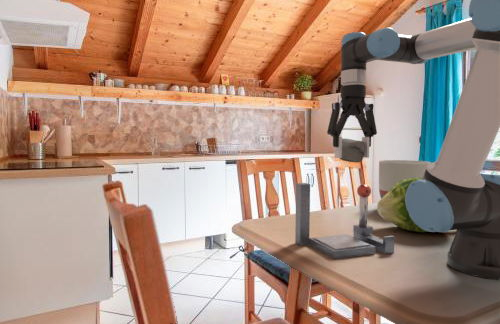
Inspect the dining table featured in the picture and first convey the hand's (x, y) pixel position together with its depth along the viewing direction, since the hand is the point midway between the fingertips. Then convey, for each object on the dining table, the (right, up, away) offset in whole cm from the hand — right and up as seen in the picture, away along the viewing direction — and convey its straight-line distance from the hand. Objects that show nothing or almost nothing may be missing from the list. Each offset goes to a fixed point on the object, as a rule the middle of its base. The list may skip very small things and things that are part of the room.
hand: (351, 157), depth 112 cm
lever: (+2, -23, -4) cm, 23 cm away
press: (-5, -26, -10) cm, 28 cm away
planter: (+34, -23, +43) cm, 60 cm away
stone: (0, -1, +1) cm, 1 cm away
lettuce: (+23, -25, +9) cm, 35 cm away
